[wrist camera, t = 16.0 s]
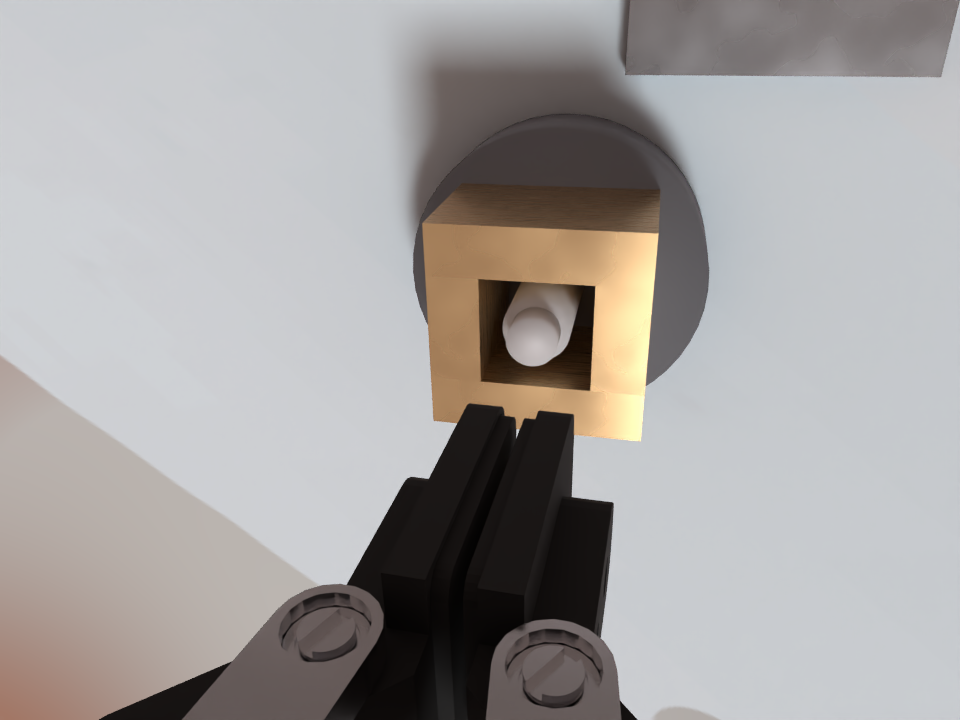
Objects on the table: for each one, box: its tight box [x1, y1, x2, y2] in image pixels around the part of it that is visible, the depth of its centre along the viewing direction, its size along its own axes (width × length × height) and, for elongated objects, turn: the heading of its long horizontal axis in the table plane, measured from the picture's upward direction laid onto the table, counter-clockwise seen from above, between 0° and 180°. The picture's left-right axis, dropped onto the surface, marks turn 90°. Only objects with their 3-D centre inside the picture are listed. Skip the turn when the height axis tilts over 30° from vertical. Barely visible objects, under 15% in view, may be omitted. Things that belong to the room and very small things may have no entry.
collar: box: [422, 183, 661, 441], centre depth 26 cm, size 7×7×5 cm
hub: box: [413, 114, 709, 386], centre depth 27 cm, size 11×11×8 cm
